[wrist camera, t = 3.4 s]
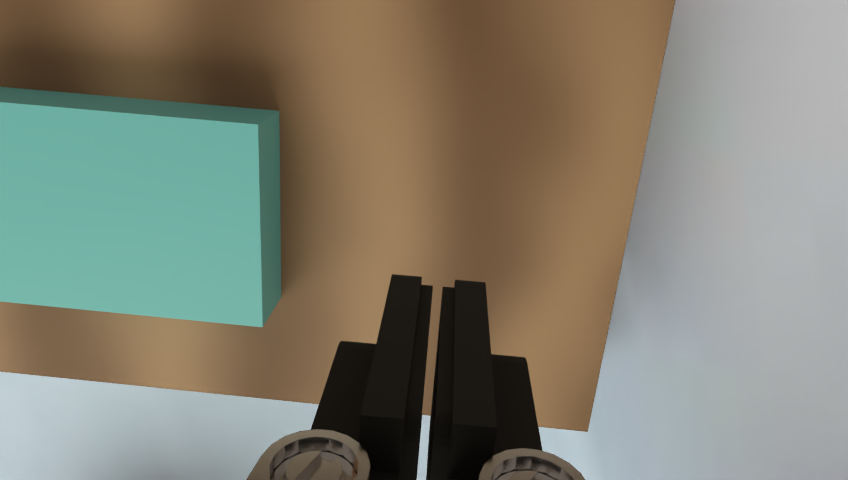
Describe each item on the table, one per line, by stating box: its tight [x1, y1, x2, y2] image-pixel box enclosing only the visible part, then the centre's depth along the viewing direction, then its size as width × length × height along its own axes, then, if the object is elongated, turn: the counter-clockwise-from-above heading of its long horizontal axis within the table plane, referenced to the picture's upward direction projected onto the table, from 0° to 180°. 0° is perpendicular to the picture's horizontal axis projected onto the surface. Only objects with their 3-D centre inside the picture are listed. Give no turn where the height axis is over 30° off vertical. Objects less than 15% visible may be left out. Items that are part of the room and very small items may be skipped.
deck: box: [0, 0, 675, 432], centre depth 22 cm, size 22×14×4 cm, turn 86°
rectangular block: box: [0, 87, 281, 327], centre depth 19 cm, size 9×6×2 cm, turn 86°
